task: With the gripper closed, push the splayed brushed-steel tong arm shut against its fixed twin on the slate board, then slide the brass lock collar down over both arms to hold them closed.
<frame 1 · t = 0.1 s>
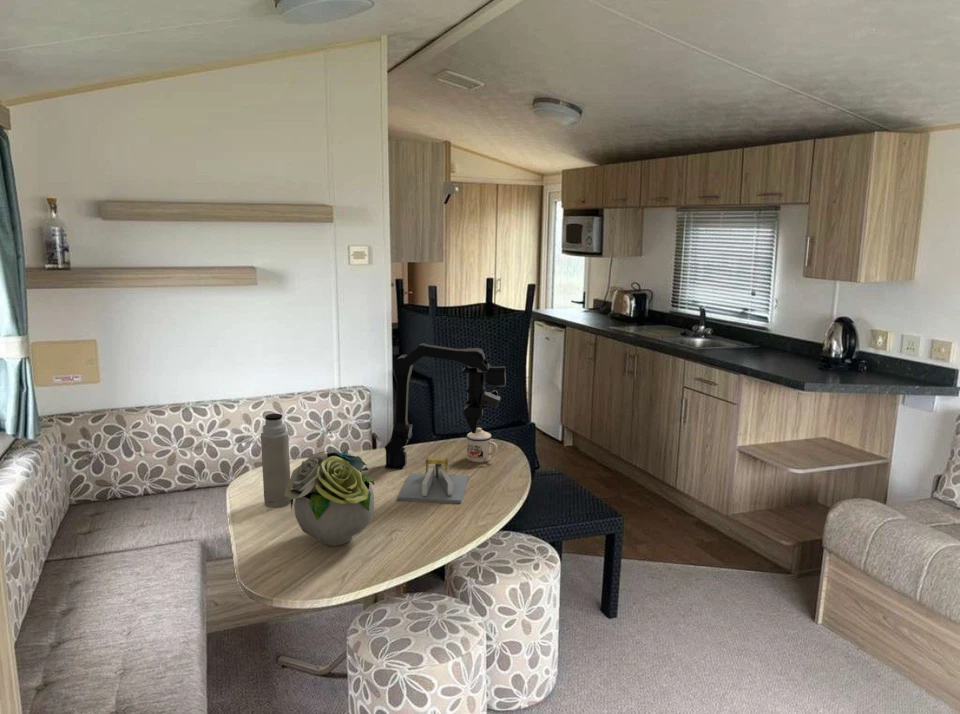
hand: (475, 429, 238), 15 cm above the table, tool pointing down, fingers open, 9 cm apart
thermos bottle: (278, 503, 211), on the table
tong arm: (438, 479, 232), resting on tongs base, hinge at 20.0°
lock collar: (438, 479, 231), resting on tongs base, slide at 0.0 cm
flower arrangement: (336, 540, 188), on the table
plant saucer: (333, 480, 231), on the table
teacup with lid: (482, 460, 251), on the table
tongs base: (438, 479, 232), on the table
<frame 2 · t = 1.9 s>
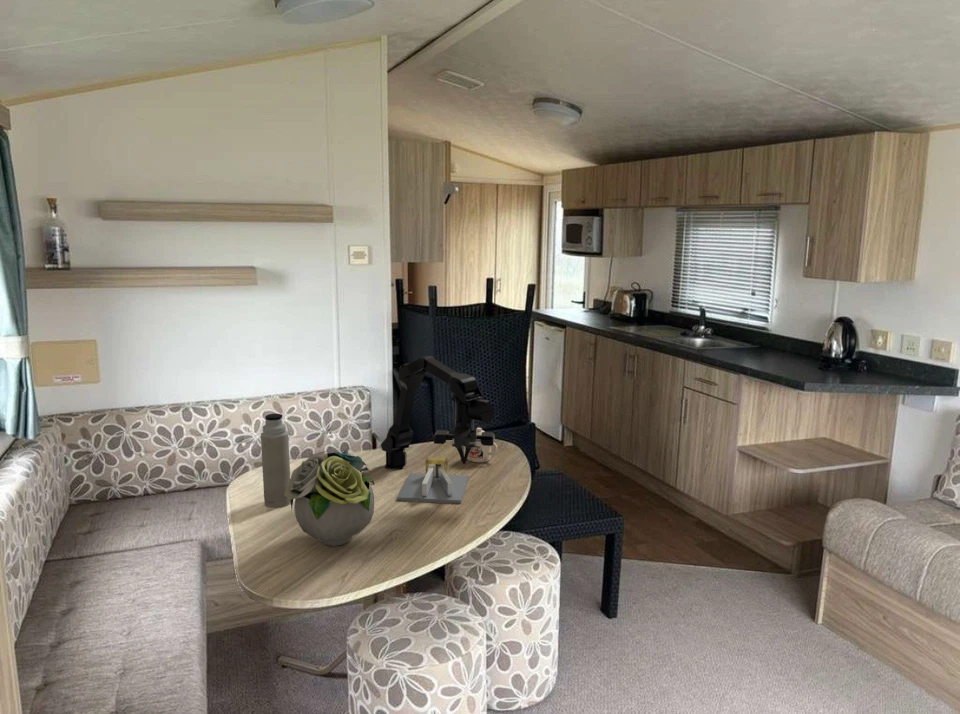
hand: (464, 463, 218), 10 cm above the table, tool pointing down, fingers closed
nothing on the table moved.
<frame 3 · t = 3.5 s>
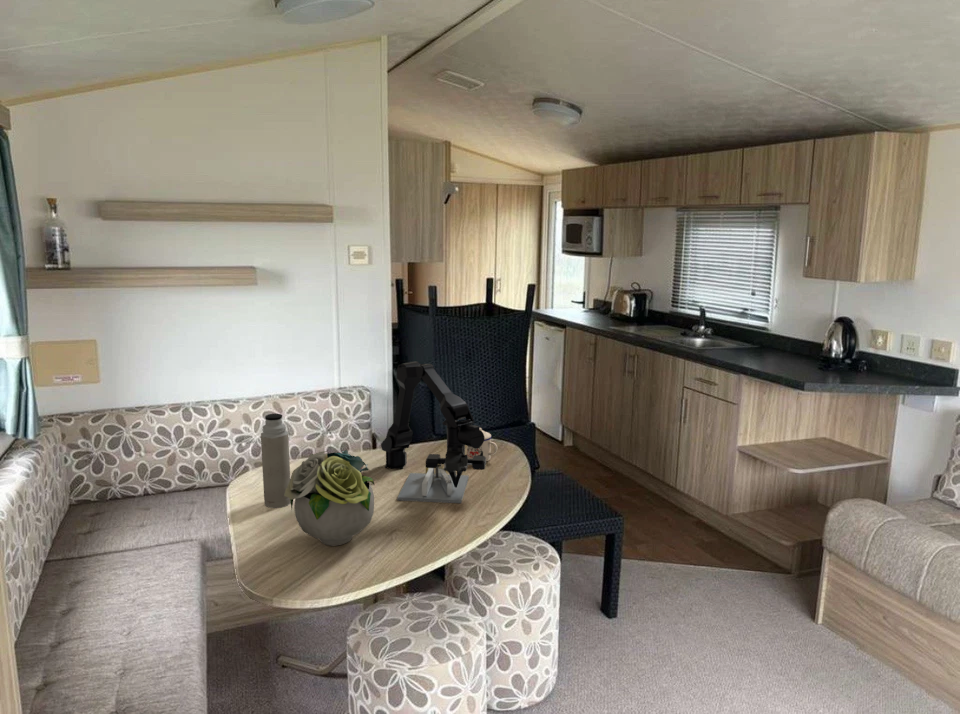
hand: (455, 487, 220), 2 cm above the table, tool pointing down, fingers closed
tong arm: (438, 479, 232), resting on tongs base, hinge at 19.5°, touching gripper
everything else where it was.
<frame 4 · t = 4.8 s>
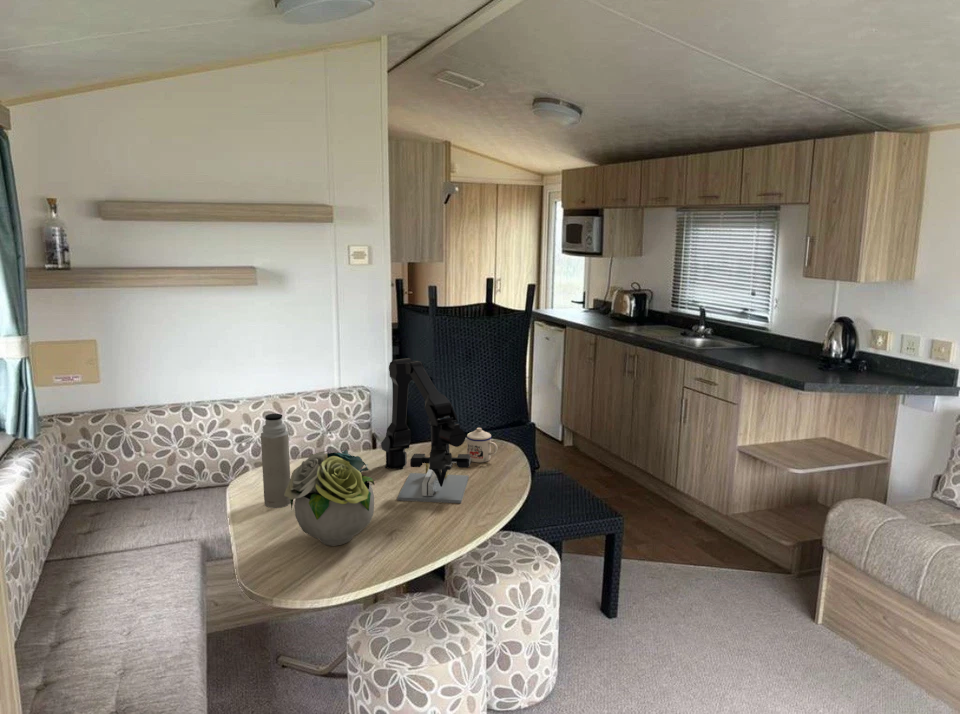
hand: (441, 486, 220), 2 cm above the table, tool pointing down, fingers closed
tong arm: (438, 479, 232), resting on tongs base, hinge at -0.3°, touching gripper
everything else where it was.
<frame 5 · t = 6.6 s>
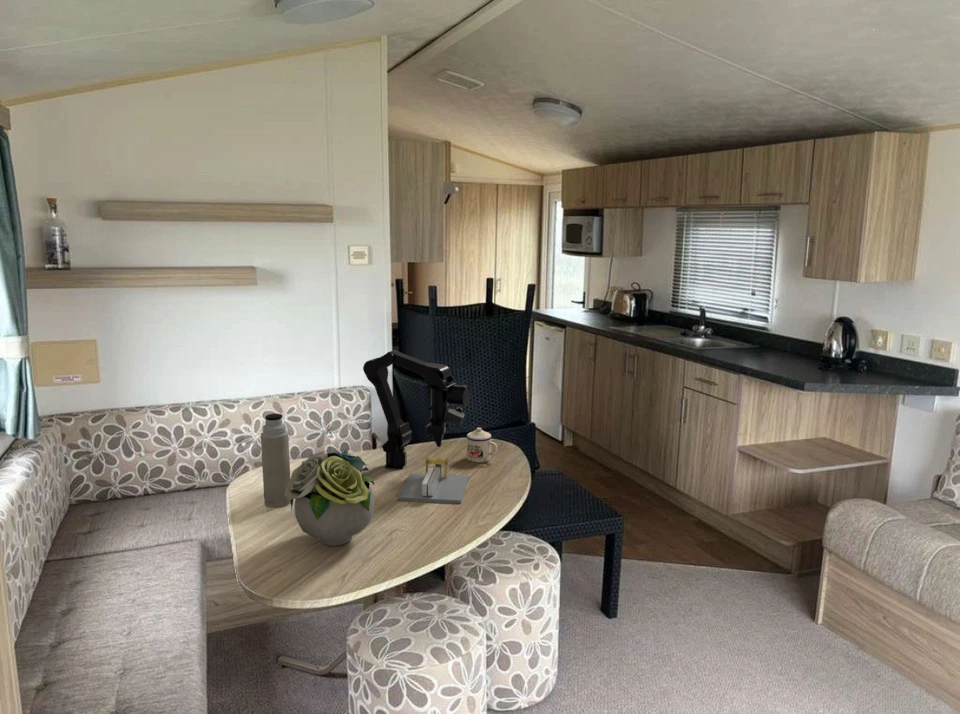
hand: (439, 446, 235), 10 cm above the table, tool pointing down, fingers closed
tong arm: (438, 479, 232), resting on tongs base, hinge at -0.4°
everything else where it was.
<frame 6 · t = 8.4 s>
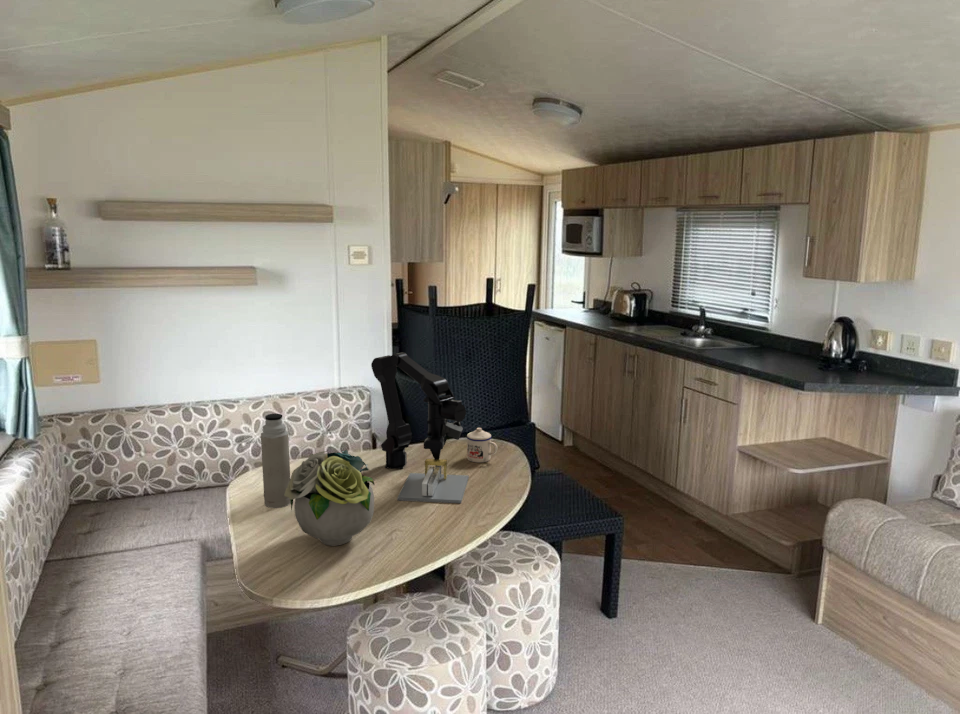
hand: (437, 461, 230), 6 cm above the table, tool pointing down, fingers closed
lock collar: (437, 481, 230), resting on tongs base, slide at 1.4 cm, touching gripper
everything else where it was.
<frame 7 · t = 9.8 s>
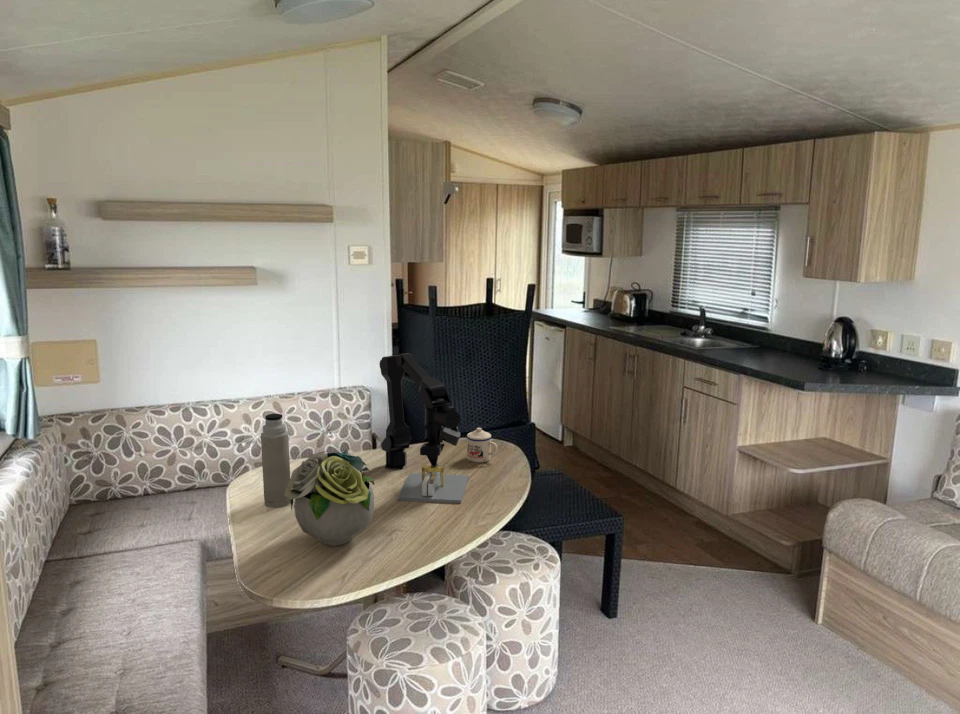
hand: (434, 467, 225), 6 cm above the table, tool pointing down, fingers closed
lock collar: (434, 488, 224), resting on tongs base, slide at 7.4 cm, touching gripper
everything else where it was.
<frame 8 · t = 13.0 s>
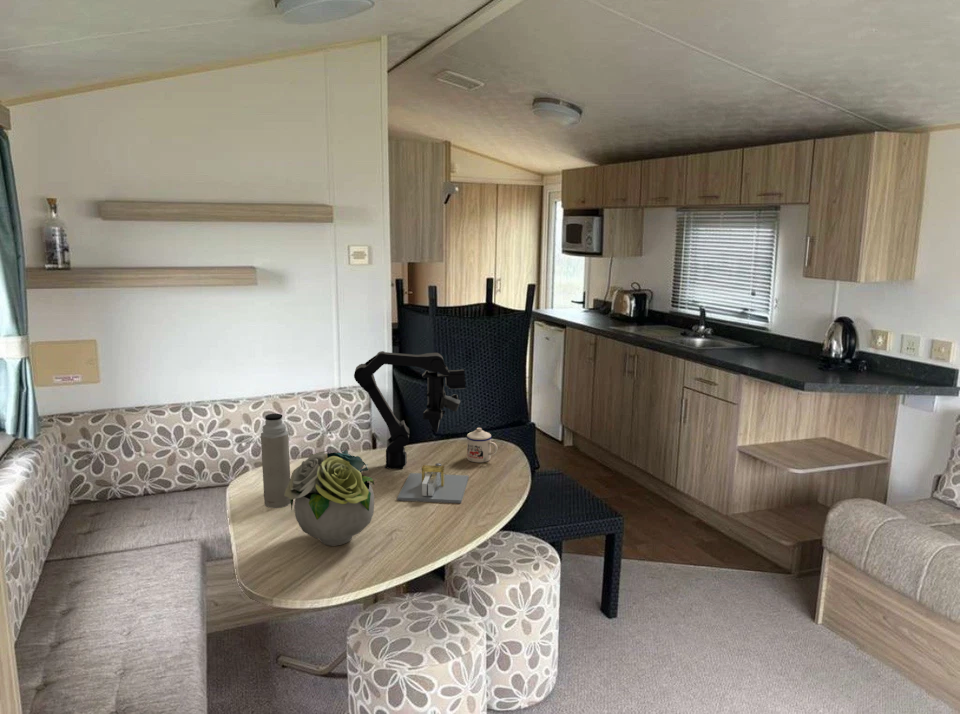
hand: (436, 432, 243), 12 cm above the table, tool pointing down, fingers closed
lock collar: (434, 488, 224), resting on tongs base, slide at 7.5 cm
everything else where it was.
at the end: tong arm at +0° (first picture: +20°); lock collar slide at 7.5 cm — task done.
